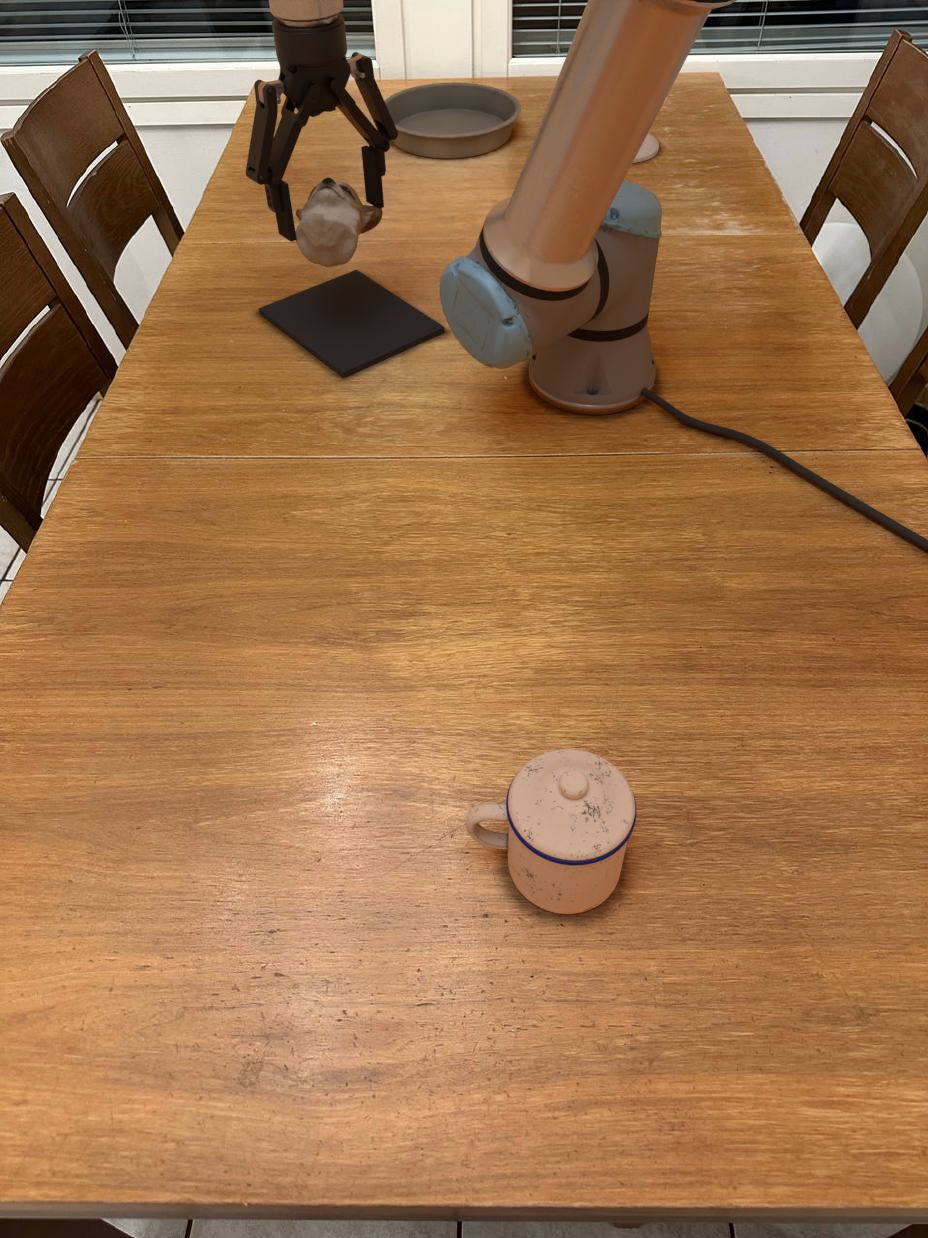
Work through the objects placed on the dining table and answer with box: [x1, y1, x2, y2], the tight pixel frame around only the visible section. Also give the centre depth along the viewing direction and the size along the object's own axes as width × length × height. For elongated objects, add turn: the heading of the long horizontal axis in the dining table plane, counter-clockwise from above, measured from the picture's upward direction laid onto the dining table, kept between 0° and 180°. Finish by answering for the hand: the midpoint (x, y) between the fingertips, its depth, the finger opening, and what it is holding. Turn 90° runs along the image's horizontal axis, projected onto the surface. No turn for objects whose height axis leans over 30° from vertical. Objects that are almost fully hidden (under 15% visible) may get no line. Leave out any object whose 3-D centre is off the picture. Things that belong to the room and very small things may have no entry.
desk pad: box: [258, 269, 445, 379], centre depth 125 cm, size 20×16×1 cm
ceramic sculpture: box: [295, 177, 384, 268], centre depth 113 cm, size 11×9×15 cm
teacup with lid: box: [465, 748, 637, 915], centre depth 68 cm, size 12×9×12 cm
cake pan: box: [384, 82, 522, 159], centre depth 165 cm, size 25×25×4 cm
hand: (332, 220), depth 114 cm, fingers closed on ceramic sculpture, 12 cm apart
